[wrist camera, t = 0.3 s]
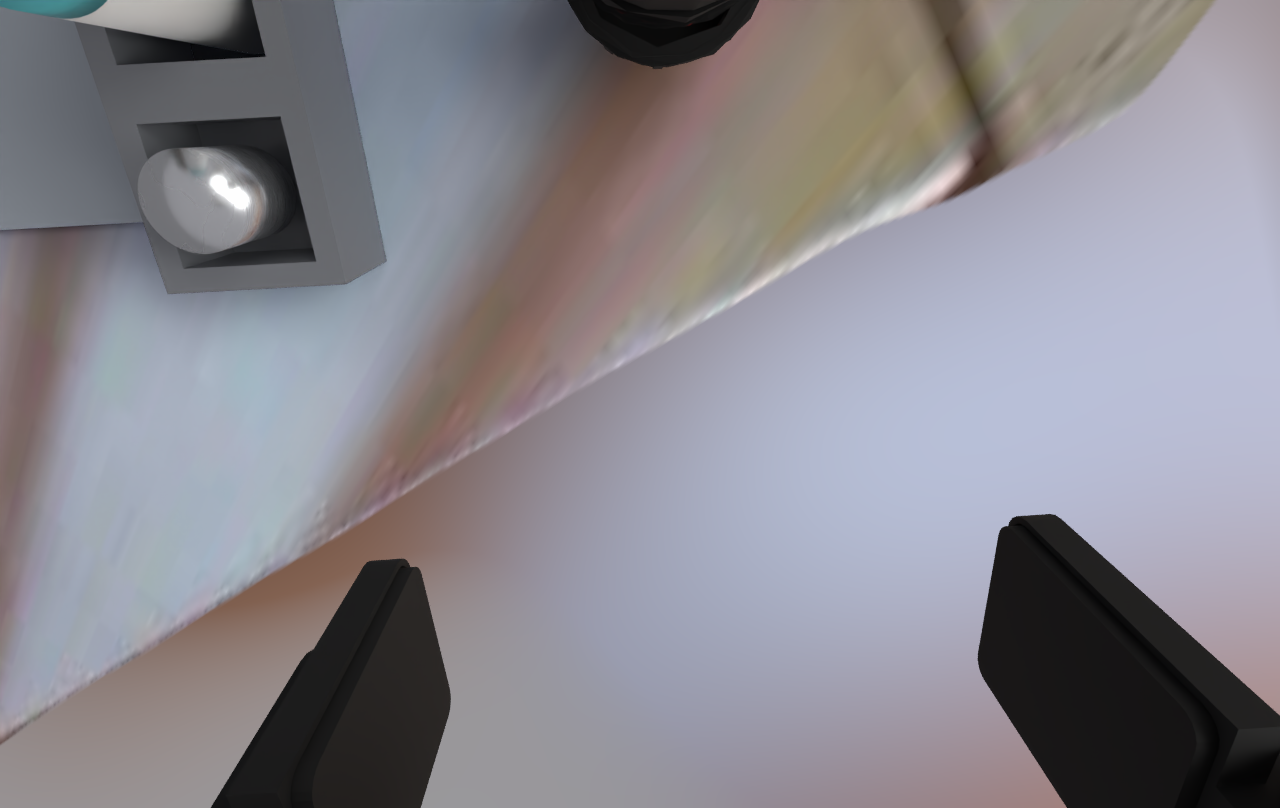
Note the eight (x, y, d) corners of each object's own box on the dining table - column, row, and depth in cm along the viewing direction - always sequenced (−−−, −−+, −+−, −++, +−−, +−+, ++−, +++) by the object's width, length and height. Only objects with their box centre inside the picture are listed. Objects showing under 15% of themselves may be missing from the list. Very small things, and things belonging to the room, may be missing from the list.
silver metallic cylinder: (194, 147, 32) (121, 151, 27) (284, 142, 32) (226, 145, 27) (222, 238, 34) (158, 256, 29) (306, 233, 34) (256, 251, 29)
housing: (121, -106, 31) (13, -156, 26) (309, -117, 31) (240, -169, 26) (233, 269, 38) (167, 293, 33) (386, 261, 38) (345, 284, 33)
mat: (-148, -65, 32) (-161, -69, 31) (57, -77, 32) (47, -81, 31) (-18, 230, 37) (-27, 231, 37) (157, 220, 37) (150, 221, 37)
